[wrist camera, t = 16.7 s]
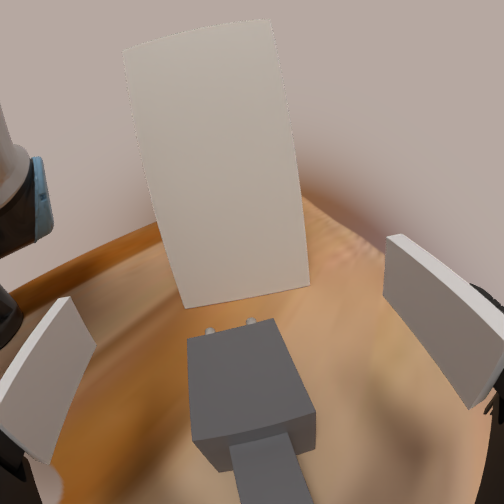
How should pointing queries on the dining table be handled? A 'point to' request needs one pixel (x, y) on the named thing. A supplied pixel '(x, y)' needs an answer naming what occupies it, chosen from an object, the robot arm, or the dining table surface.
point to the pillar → (220, 160)
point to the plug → (251, 411)
